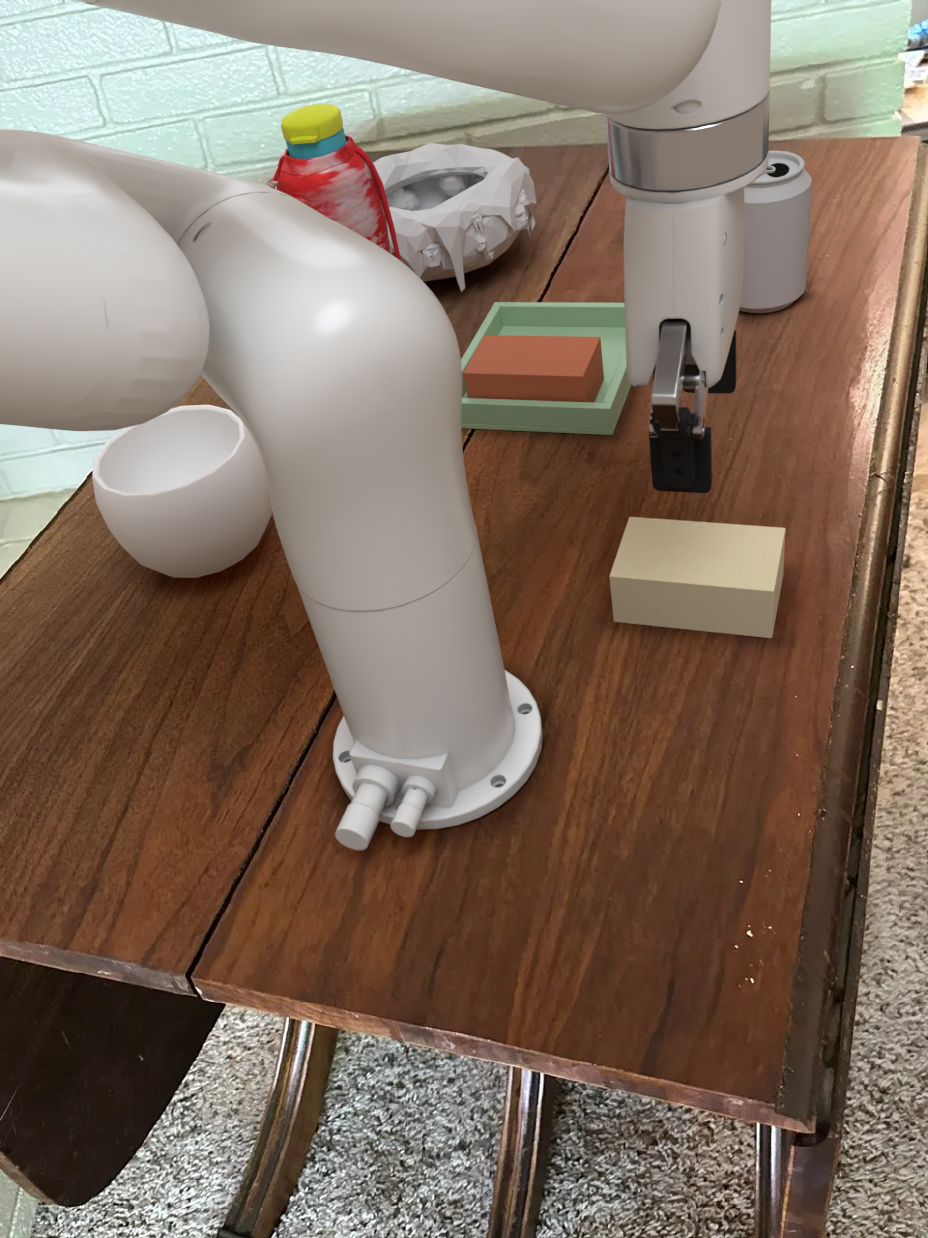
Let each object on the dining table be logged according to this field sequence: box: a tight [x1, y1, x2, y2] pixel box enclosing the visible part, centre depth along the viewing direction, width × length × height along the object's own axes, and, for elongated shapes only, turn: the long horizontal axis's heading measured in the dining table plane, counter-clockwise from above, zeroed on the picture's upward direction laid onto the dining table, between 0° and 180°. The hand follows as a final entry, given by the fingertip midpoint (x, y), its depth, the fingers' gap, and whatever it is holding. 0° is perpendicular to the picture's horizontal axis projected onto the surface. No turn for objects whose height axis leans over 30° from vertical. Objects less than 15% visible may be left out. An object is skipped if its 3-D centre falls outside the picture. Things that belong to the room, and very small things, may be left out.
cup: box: [91, 404, 273, 579], centre depth 80 cm, size 12×12×10 cm
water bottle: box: [266, 103, 401, 261], centre depth 86 cm, size 12×8×25 cm, turn 77°
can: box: [739, 150, 813, 314], centre depth 93 cm, size 8×8×12 cm
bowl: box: [372, 142, 538, 293], centre depth 109 cm, size 21×20×10 cm
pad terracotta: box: [463, 335, 604, 403], centre depth 89 cm, size 6×10×4 cm, turn 72°
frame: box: [461, 301, 633, 436], centre depth 93 cm, size 17×15×2 cm
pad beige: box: [609, 516, 787, 639], centre depth 69 cm, size 6×10×4 cm, turn 72°
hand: (696, 437), depth 63 cm, fingers open, 9 cm apart
